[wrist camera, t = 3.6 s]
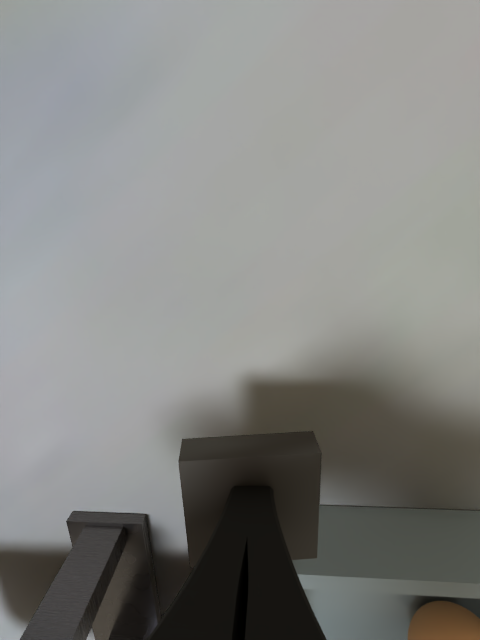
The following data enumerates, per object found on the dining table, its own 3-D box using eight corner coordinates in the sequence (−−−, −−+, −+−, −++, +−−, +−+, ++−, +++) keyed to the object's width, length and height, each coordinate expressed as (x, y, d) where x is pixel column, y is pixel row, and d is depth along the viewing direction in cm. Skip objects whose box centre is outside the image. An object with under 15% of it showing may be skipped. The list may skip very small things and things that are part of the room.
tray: (473, 675, 20) (513, 767, 17) (264, 660, 21) (262, 743, 18) (516, 511, 17) (576, 588, 13) (260, 503, 18) (257, 572, 14)
